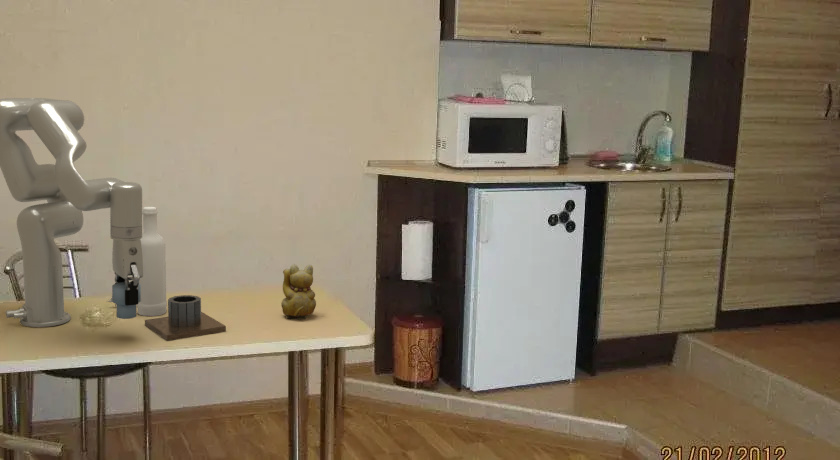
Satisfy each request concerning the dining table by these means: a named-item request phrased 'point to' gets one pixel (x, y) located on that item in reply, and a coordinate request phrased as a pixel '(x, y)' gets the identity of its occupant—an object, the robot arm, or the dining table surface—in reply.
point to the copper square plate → (184, 320)
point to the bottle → (152, 267)
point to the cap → (119, 299)
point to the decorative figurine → (298, 292)
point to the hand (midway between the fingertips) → (126, 300)
